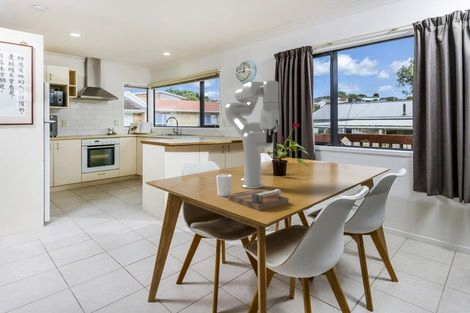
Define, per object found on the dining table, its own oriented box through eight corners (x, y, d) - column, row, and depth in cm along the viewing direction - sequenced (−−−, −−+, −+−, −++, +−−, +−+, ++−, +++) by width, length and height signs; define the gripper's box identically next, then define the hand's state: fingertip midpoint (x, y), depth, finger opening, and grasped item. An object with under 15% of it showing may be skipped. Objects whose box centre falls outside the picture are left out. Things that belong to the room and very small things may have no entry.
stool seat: (228, 199, 136) (228, 188, 136) (256, 194, 147) (256, 183, 146) (258, 210, 119) (258, 197, 118) (288, 203, 129) (288, 191, 129)
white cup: (225, 192, 151) (225, 173, 150) (235, 195, 145) (234, 175, 144) (213, 194, 146) (213, 175, 145) (222, 197, 140) (222, 177, 139)
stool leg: (277, 195, 132) (277, 188, 132) (281, 196, 130) (281, 189, 130) (251, 201, 122) (251, 194, 122) (256, 202, 120) (256, 195, 120)
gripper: (255, 106, 146) (254, 142, 149) (275, 105, 134) (274, 144, 137) (266, 106, 151) (265, 141, 153) (286, 106, 138) (285, 143, 141)
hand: (269, 142), depth 145 cm, fingers closed
